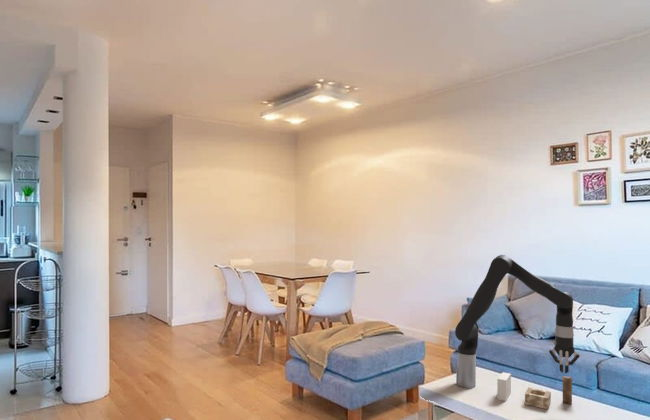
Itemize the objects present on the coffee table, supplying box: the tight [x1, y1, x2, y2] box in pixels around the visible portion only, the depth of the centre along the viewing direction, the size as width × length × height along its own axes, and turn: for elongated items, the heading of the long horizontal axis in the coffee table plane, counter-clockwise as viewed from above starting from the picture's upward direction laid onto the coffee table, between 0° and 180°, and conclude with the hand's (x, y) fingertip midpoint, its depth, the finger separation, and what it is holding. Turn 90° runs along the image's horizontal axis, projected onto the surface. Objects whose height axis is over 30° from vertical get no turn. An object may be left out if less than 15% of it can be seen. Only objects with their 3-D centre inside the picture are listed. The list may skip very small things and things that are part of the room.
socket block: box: [524, 387, 552, 410], centre depth 214 cm, size 10×10×5 cm
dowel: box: [562, 375, 573, 405], centre depth 216 cm, size 4×4×12 cm
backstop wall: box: [496, 372, 512, 402], centre depth 223 cm, size 4×12×10 cm, turn 147°
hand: (564, 372), depth 209 cm, fingers closed
